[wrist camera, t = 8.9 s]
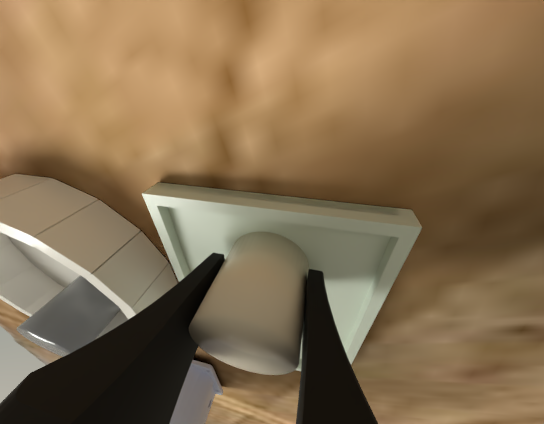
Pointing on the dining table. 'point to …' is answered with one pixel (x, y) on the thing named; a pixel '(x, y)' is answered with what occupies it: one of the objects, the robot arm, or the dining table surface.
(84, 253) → the bowl
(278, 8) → the dining table surface
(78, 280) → the grey short cylinder
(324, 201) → the parts tray
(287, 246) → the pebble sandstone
